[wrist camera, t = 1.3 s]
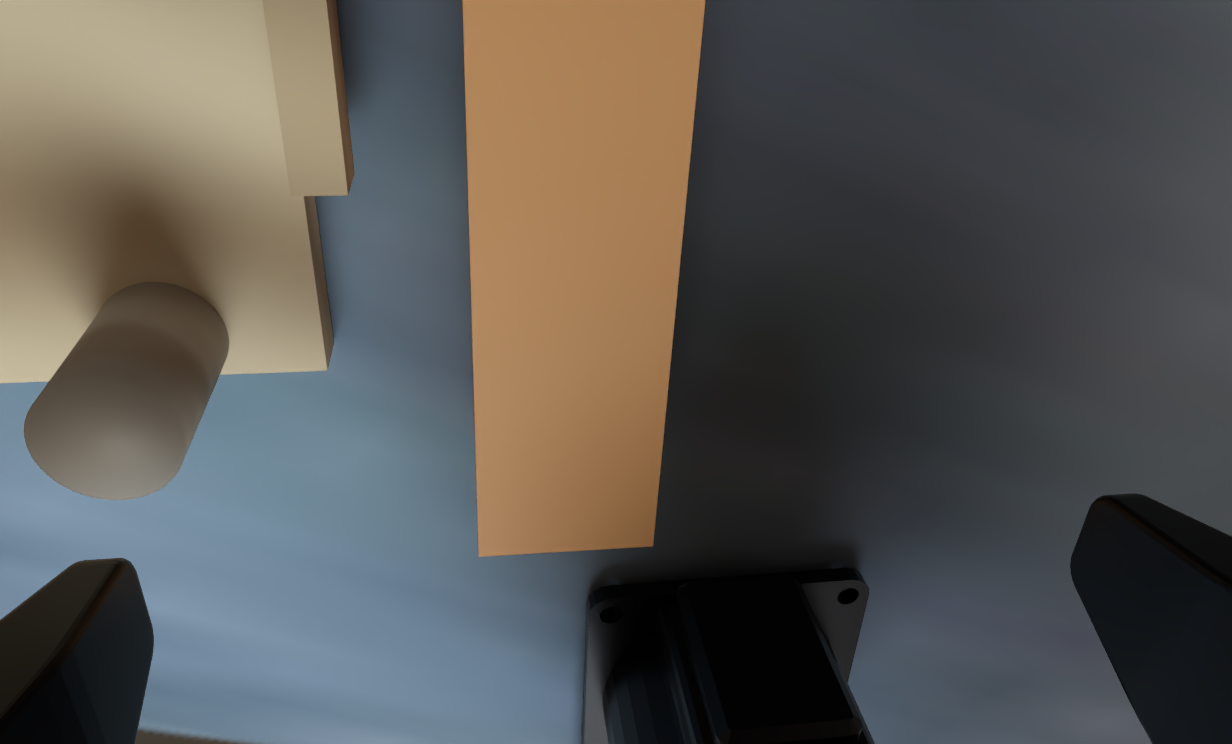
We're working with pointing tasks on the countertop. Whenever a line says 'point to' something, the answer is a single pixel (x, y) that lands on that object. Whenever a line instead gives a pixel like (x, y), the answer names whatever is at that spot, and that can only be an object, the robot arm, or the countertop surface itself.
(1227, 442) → the countertop surface
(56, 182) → the tool board
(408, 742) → the countertop surface
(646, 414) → the orange rectangular bar
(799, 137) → the countertop surface
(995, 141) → the countertop surface
